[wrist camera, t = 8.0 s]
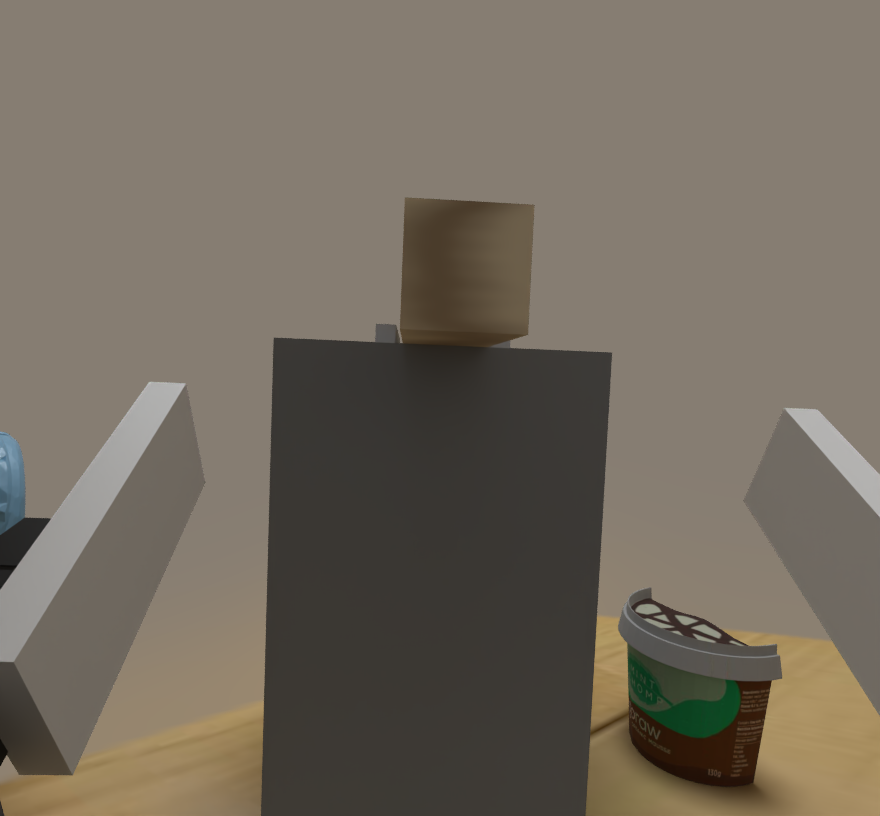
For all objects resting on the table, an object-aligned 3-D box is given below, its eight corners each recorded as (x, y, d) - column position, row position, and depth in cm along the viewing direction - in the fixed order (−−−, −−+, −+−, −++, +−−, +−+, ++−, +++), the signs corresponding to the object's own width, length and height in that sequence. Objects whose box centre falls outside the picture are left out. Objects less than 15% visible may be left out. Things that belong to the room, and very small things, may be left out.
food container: (578, 717, 49) (585, 593, 48) (638, 702, 52) (645, 584, 51) (705, 822, 38) (716, 663, 37) (773, 796, 41) (784, 647, 40)
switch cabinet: (258, 910, 30) (274, 316, 29) (316, 700, 50) (328, 338, 48) (580, 909, 31) (613, 331, 30) (514, 703, 51) (532, 347, 49)
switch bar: (399, 328, 19) (404, 197, 19) (404, 353, 45) (406, 297, 45) (527, 334, 19) (534, 204, 19) (459, 355, 45) (462, 300, 45)
